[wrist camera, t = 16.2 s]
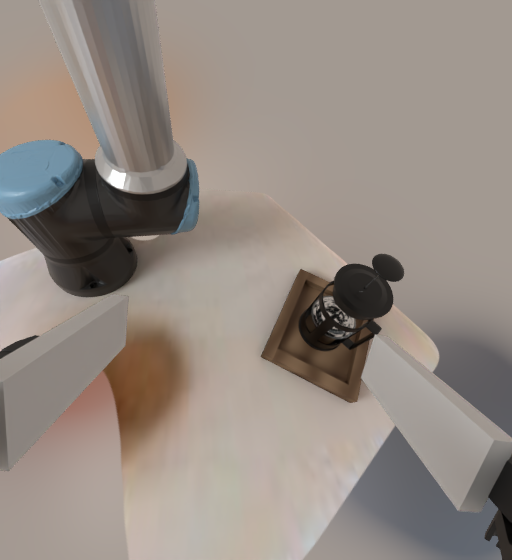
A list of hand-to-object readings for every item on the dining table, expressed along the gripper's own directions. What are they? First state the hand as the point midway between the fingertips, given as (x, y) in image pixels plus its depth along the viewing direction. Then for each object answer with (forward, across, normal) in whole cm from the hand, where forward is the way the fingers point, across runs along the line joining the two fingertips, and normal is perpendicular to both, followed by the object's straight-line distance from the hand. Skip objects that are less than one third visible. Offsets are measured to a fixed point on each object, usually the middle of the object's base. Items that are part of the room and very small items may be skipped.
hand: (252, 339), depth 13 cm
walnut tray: (+34, +18, -13) cm, 41 cm away
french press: (+34, +18, -13) cm, 40 cm away
